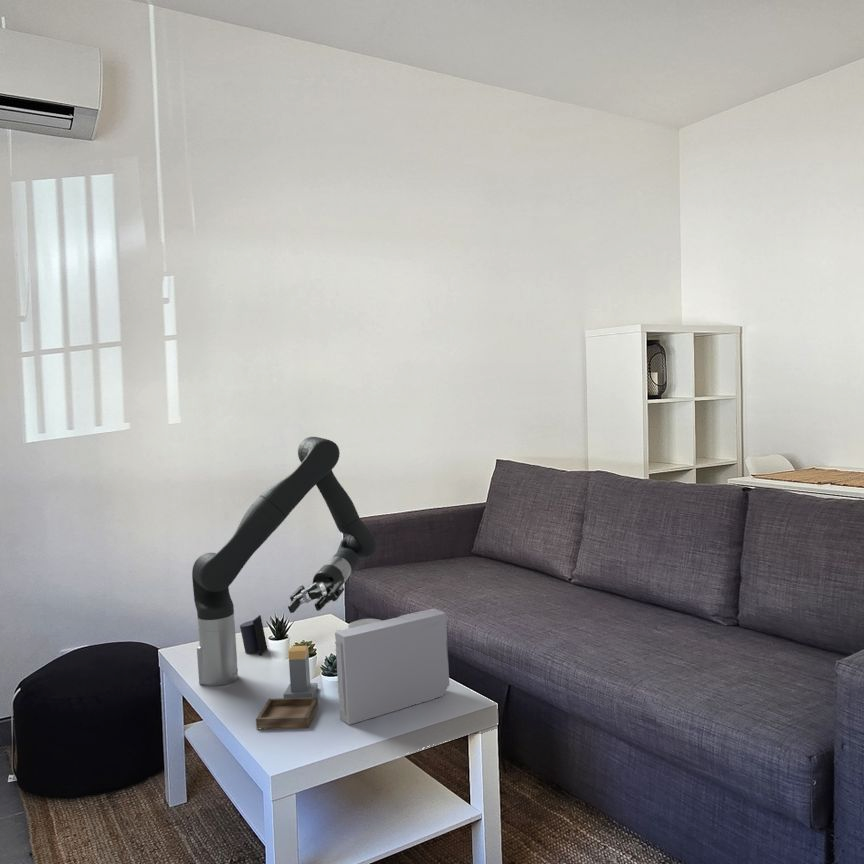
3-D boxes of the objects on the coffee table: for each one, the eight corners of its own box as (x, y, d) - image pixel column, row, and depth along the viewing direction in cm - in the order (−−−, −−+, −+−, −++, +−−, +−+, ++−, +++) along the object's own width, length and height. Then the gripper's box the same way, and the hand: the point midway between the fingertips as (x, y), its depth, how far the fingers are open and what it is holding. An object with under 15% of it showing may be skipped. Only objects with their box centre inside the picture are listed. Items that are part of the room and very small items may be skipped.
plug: (283, 700, 191) (280, 653, 191) (290, 689, 198) (287, 644, 198) (312, 699, 191) (309, 652, 190) (317, 688, 198) (315, 643, 197)
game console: (336, 717, 179) (331, 631, 178) (436, 687, 194) (432, 608, 193) (348, 725, 175) (343, 637, 174) (449, 694, 189) (445, 612, 188)
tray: (256, 729, 175) (255, 719, 175) (269, 708, 187) (268, 698, 186) (308, 727, 174) (307, 717, 174) (318, 706, 186) (317, 697, 186)
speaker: (274, 648, 230) (267, 614, 230) (261, 656, 225) (254, 620, 225) (254, 648, 234) (248, 614, 234) (241, 655, 229) (234, 620, 229)
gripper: (307, 566, 220) (276, 598, 207) (349, 561, 214) (320, 594, 200) (316, 589, 222) (286, 623, 209) (358, 585, 216) (330, 619, 202)
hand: (303, 608), depth 204 cm, fingers open, 8 cm apart
